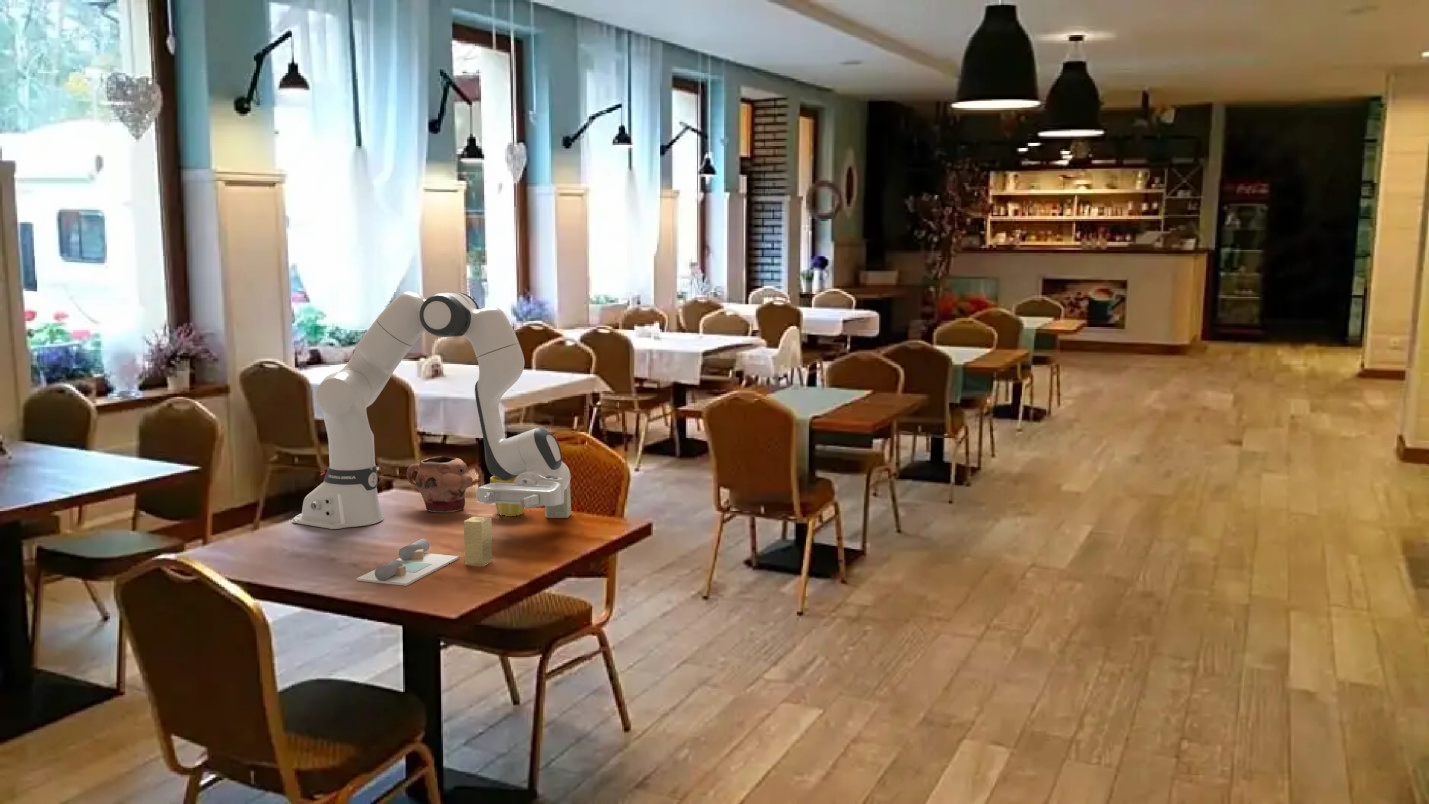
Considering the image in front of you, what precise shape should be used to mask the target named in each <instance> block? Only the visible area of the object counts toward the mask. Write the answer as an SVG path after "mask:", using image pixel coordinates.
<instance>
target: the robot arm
mask: <svg viewBox="0 0 1429 804" xmlns="http://www.w3.org/2000/svg"><path fill="white" fill-rule="evenodd" d="M425 332H428V333H429V334H431V335H433V336H435V337H438V338H455V337H465V338H466V339H467V340H468V341H469V342H470V344H471V347H472V349H473V352H474V353H475V357H476V360H477V362H478V363H477V364H478V371H479V373H478V380H477V381H476V382H475V385H474V397H475V403H476V408H477V413H478V418H479V423H480V429H481V433H482V438H483V446H484V459H485V464H486V467H487V470H488V472H489V473H490V474H491V475H492V476H495V477H497V478H499V479H501V480H504V481H508V480H510V479H512V478H515V477H516V478H515V480H514V482H513V483H490V482H489V483H487V484H484V485H480V486H478V488H477V491H476V492H477V499H478V502H479V503H484V504H487V505H491V504H496V503H504V504H520V505H521V506H523V507H524V509H525V508H526V509H535V508H537V507H545V506H556V505H561V504H563V503H564V491H565V489H566V488H567V487H568V485H569V482H570V483H571V471H570V469H569V467H568V465H567V464H566V463H565V462H563V455H562V450H561V446H560V444H559V442H558V440H557V438H556V437H555V436H554V435H553V434H552V433H551V432H550V431H549V430H547V429H545V428H543V427H536V428H533V429H529V430H527V431H523V432H522V433H520V434H519V433H518V434H517V435H513V436H510V437H508V438H506V436H505V435H504V429H503V425H502V420H501V415H500V410H499V406H500V405H499V404H500V401H501V399H502V397H503V395H505V393H506V392H507V391H508V390H509V389H510V388H512V386H513V385H514V384H516V382H518V380H519V379H520V377H521V376H522V374H523V371H524V370H525V358H524V354H523V351H522V350H523V349H522V348H521V344H520V342H519V339H518V337H517V335H516V331H515V330H514V328H513V326H512V324H511V322H510V321H509V319H508V318H507V316H506V314H505V312H504V311H503V310H502V309H500V308H499V307H495V306H485V307H483V308H480V307H479V304H478V303H477V301H476V300H475V299H474V298H473V297H472V296H470V295H468V294H466V293H462V292H456V291H446V292H438V293H435V294H432V295H431V296H429V297H426V298H425V297H424V296H422V295H421V294H419V293H417V292H413V291H405V292H402V293H400V294H398V296H397V297H395V298H394V299H393V300H392V301H391V302H390V303H389V304H388V305H387V306H386V307H385V308H384V309H383V311H382V312H380V314H379V315H378V316H377V317H376V318H375V321H373V322H372V324H371V325H370V327H369V328H368V329H367V331H366V332H365V334H364V335H363V336H362V337H361V338H360V339H359V341H358V342H357V345H356V347H355V350H354V352H353V353H352V355H351V357H350V359H349V361H348V362H347V364H345V366H344V367H343V368H342V369H340V370H339V371H336V372H334V373H330V374H329V375H327V376H326V377H325V378H324V379H323V380H322V381H321V382H320V383H319V385H318V387H317V389H316V393H315V399H316V403H317V406H318V407H319V408H320V410H321V412H322V418H323V423H324V425H325V430H326V434H327V441H328V456H329V457H328V458H329V460H328V461H329V466H328V467H327V468H325V469H323V470H320V471H319V472H320V476H323V475H324V479H323V482H321V483H320V484H319V485H318V486H317V487H316V488H314V489H313V490H312V491H311V492H309V493H308V494H307V495H306V496H305V497H304V498H303V502H302V508H301V509H302V510H301V513H299V514H297V515H295V516H293V519H292V520H293V521H292V522H293V523H294V524H299V525H305V526H311V527H319V528H323V529H331V530H338V529H345V528H355V527H363V526H364V527H365V526H369V525H373V524H376V523H377V524H378V523H379V522H382V521H383V520H384V519H385V518H384V516H383V512H382V509H381V505H380V500H379V495H378V494H379V493H378V488H377V487H378V467H377V465H376V459H375V458H376V455H375V435H374V433H373V430H372V429H371V427H370V422H369V418H368V413H367V408H368V407H370V406H372V405H373V403H374V402H376V400H377V398H378V397H379V396H380V395H381V392H382V391H383V389H384V388H385V387H386V385H387V383H388V381H389V380H390V378H391V377H392V375H393V373H394V372H395V370H396V368H397V367H398V366H399V365H400V364H401V362H402V361H403V360H404V358H405V357H406V356H407V354H408V353H409V352H410V350H411V349H412V348H413V347H414V345H415V344H416V343H417V341H418V340H419V339H420V338H421V336H423V334H424V333H425ZM295 520H297V521H295Z"/></svg>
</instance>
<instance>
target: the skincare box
mask: <svg viewBox="0 0 1429 804" xmlns="http://www.w3.org/2000/svg"><path fill="white" fill-rule="evenodd" d="M571 501H572V500H571V481H570V482H569V485H568V487H567V488H566V489H565V491H564V503H563V504H561V505H556V506H544V517H545V518H551V519H553V518H555V519H556V518H557V519H564V518H565V519H567V518H569V517H570V516H571V515H572V502H571Z"/></svg>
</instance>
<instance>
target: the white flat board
mask: <svg viewBox="0 0 1429 804" xmlns="http://www.w3.org/2000/svg"><path fill="white" fill-rule="evenodd" d="M429 549H430V543H429V541H428V540H427V539H426V538H421V539H418V540H416V541H414V542H412V543H409V544H407V545H405V546H403V547H401V548H400V549H399V550H398V556H399V558H397V559H393V560H391V561H389V562H386V563H384V564H382V565H379V566H378V567H376V569H373V570H371V571H369V572H367V573H365V574H363V575H361V576H359V577H357V578H356V581H358V582H365V583H366V582H367V583H378V584H385V585H386V584H387V585H394V586H409V585H411V584H413V583H414V582H417V581H419V580H420V579H422V578H424V577H426V576H429V575H430V574H433V572H436V571H438V570H440V569H442V568H444V567H445V566H448V565H450V564H452V563H453V562H455V561H457V560H459V559H460V556H459V555H449V554H440V553H428V552H427V551H428V550H429ZM425 552H426V553H425ZM449 563H450V564H449Z"/></svg>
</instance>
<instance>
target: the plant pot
mask: <svg viewBox="0 0 1429 804" xmlns="http://www.w3.org/2000/svg"><path fill="white" fill-rule="evenodd" d="M515 478H516V477H515ZM515 478H512V479H510V480H508V481H504V480H501V479H499V478H497V477H495V476H494V475H492V476H491V477H490V478H489V484H490V483H513V482H514V480H515ZM495 507H496V513H497V515H499V514H501V515H500V516H502V515H505V516H504V517H517V516H521V515H523V514H524V511H525V507H523V506H521V505H520V504H504V503H495ZM520 514H521V515H520ZM516 515H517V516H516Z"/></svg>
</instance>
